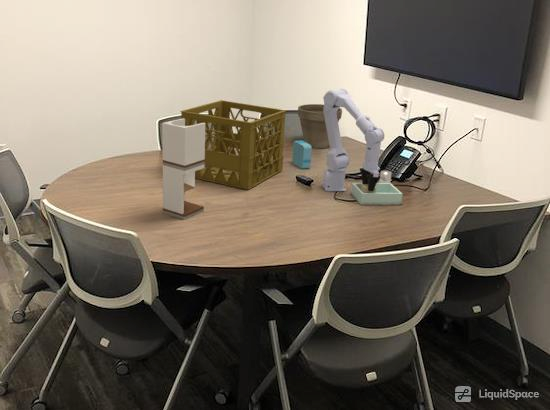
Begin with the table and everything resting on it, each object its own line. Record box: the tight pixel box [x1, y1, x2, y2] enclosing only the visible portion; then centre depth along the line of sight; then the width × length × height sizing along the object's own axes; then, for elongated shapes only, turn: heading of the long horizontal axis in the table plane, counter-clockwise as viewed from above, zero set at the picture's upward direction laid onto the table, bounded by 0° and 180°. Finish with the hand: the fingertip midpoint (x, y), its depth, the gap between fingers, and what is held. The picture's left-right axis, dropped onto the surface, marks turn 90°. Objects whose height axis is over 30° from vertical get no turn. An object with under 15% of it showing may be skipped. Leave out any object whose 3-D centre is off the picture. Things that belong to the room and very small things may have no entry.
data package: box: [291, 140, 313, 170], centre depth 288 cm, size 12×4×12 cm, turn 24°
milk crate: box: [180, 99, 287, 191], centre depth 266 cm, size 36×35×30 cm
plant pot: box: [297, 103, 343, 149], centre depth 327 cm, size 25×25×22 cm
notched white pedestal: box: [161, 118, 206, 221], centre depth 215 cm, size 11×11×35 cm
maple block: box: [361, 184, 376, 193], centre depth 247 cm, size 5×5×5 cm
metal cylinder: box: [378, 169, 392, 183], centre depth 265 cm, size 5×5×7 cm
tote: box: [350, 182, 403, 206], centre depth 248 cm, size 18×14×5 cm
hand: (367, 187), depth 247 cm, fingers open, 7 cm apart
